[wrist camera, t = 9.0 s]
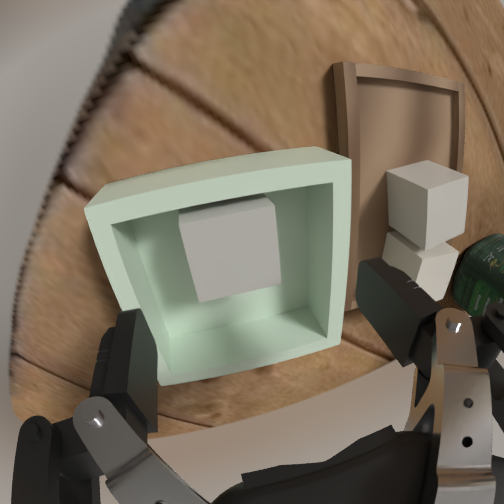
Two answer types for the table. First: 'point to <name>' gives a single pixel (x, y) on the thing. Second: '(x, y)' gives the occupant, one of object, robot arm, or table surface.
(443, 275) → the white cube
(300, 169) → the sage bin
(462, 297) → the coffee jar
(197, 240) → the off-white cube
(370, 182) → the walnut tray
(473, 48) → the table surface
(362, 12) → the table surface
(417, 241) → the pale grey cube
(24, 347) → the table surface
